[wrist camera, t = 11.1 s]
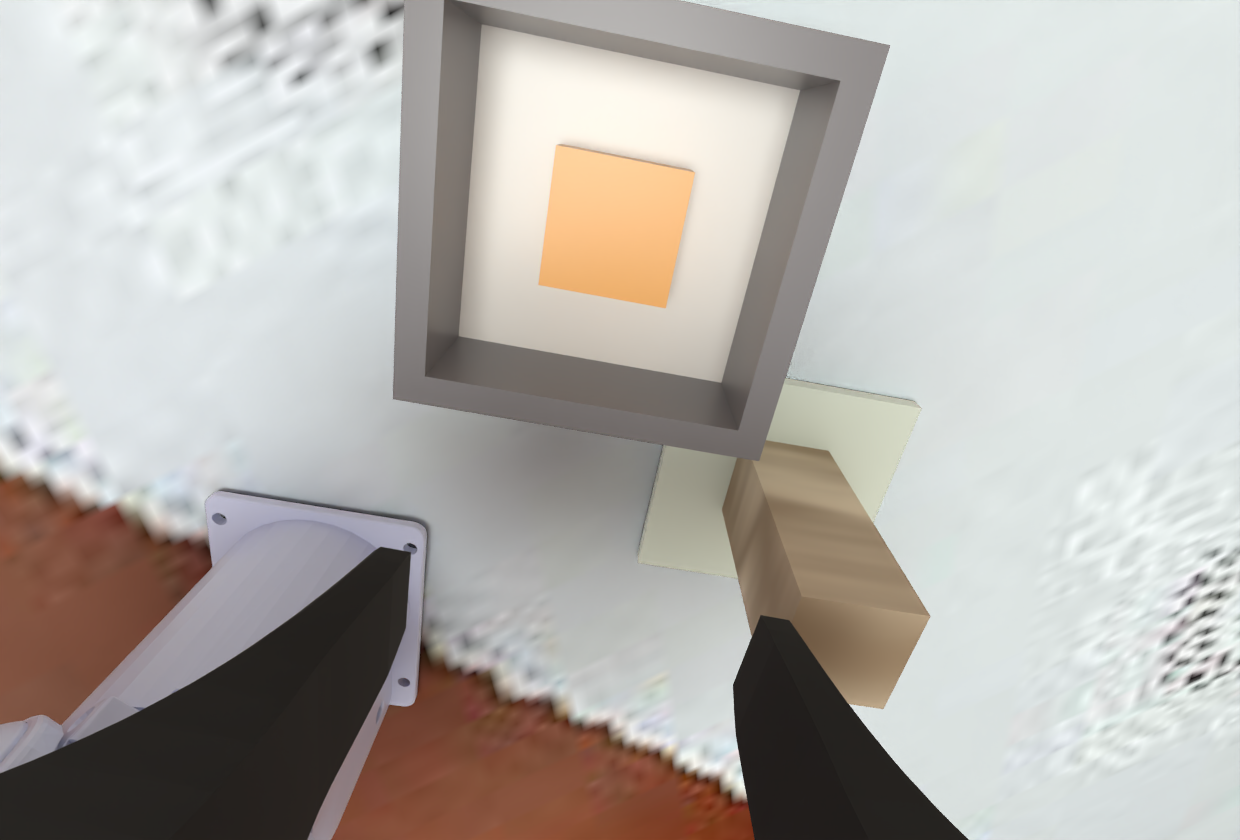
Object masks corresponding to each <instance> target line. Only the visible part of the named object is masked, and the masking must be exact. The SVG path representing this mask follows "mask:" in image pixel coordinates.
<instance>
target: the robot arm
mask: <svg viewBox="0 0 1240 840" xmlns="http://www.w3.org/2000/svg"><path fill="white" fill-rule="evenodd" d="M205 510H206V518H207V526H208V535H209V543H210V551H211V560H212V568H211V569H210V570H209V571H208V572H207V574H206V575H205V576H204V577H203V578H202V579H201V580H200V581H199V582H198V583H197V584H196V585H195V586H194V587H193V588H192V589H191V590H190V591H189V592H188V593H187V594H186V595H185V596H184V598H183V599H182V600H181V601H180V602H179V603H178V604H177V605H176V606H175V607H174V608H173V609H172V610H171V611H170V612H169V613H168V614H167V615H166V616H165V617H164V618H163V619H162V620H161V621H160V623H159V624H158V625H157V626H156V627H155V628H154V629H153V630H152V631H151V632H150V633H149V634H148V635H147V636H146V637H145V638H144V639H143V640H142V641H141V642H140V643H139V644H138V645H137V647H136V648H135V649H134V650H133V651H132V652H131V653H130V654H129V655H128V656H127V657H126V658H125V659H124V660H123V661H122V662H121V663H120V664H119V665H118V666H117V667H116V668H115V669H114V670H113V672H112V673H111V674H110V675H109V676H108V677H107V678H106V679H105V680H104V681H103V682H102V683H101V684H100V685H99V686H98V687H97V688H96V689H95V690H94V691H93V692H92V693H91V694H90V696H89V697H88V698H87V699H86V700H85V701H84V702H83V703H82V704H81V705H80V706H79V707H78V708H77V709H76V710H75V711H74V712H73V713H72V714H71V715H70V716H69V717H68V718H67V719H66V721H65V722H64V723H63V724H62V725H59V724H58V723H56V722H55V721H53V720H52V719H50V718H49V717H48V716H45V715H37V716H33V717H30V718H28V719H26V720H24V721H16V722H11V723H5V724H0V840H331V839H332V837H333V835H334V833H335V831H336V829H337V827H338V825H339V822H340V820H341V818H342V815H343V813H344V811H345V808H346V806H347V804H348V801H349V799H350V796H351V794H352V792H353V789H354V787H355V785H356V782H357V780H358V777H359V775H360V773H361V770H362V768H363V766H364V763H365V761H366V759H367V756H368V754H369V751H370V749H371V747H372V744H373V742H374V740H375V737H376V735H377V733H378V730H379V728H380V725H381V723H382V721H383V718H384V716H385V714H386V711H387V709H388V706H389V704H390V705H397V706H410V705H412V704H413V703H414V702H415V699H416V696H417V692H418V676H419V659H420V642H421V626H422V609H423V592H424V576H425V559H426V543H427V532H426V529H425V528H424V526H422V525H421V524H419V523H416V522H413V521H406V520H400V519H394V518H387V517H381V516H375V515H368V514H362V513H356V512H350V511H343V510H337V509H331V508H324V507H318V506H312V505H305V504H299V503H293V502H287V501H280V500H274V499H268V498H261V497H255V496H249V495H242V494H236V493H230V492H224V491H217V492H215V493H213V494H212V495H210V496H209V497H208V498H207V499H206V501H205ZM219 513H220V514H222V515H224V516H225V517H226V519H225V518H222V517H221V516H220V515H219ZM407 543H411V544H414V545H415V546H416V547H417V548H411V547H409V546H408V545H407ZM404 678H406V679H404ZM733 694H734V714H735V728H736V738H737V744H738V750H739V756H740V761H741V767H742V773H743V778H744V784H745V789H746V794H747V800H748V805H749V811H750V816H751V822H752V827H753V832H754V838H755V840H968V839H967V838H966V837H965V836H964V835H963V834H962V833H961V832H960V831H959V830H958V829H957V828H956V827H955V826H954V825H953V824H952V823H951V822H950V821H949V820H948V819H947V818H946V817H945V816H944V815H943V814H942V813H941V812H940V811H939V810H938V809H937V808H936V807H935V806H934V805H933V804H932V803H931V801H930V800H929V799H928V798H927V797H926V796H925V795H924V794H923V793H922V792H921V791H920V790H919V788H918V787H917V786H916V785H915V784H914V783H913V782H912V781H911V780H910V779H909V778H908V776H907V775H906V774H905V773H904V772H903V771H902V770H901V769H900V767H899V766H898V765H897V764H896V763H895V762H894V760H893V759H892V758H891V757H890V756H889V755H888V753H887V752H886V751H885V750H884V748H883V747H882V746H881V745H880V743H879V742H878V741H877V740H876V739H875V737H874V736H873V735H872V734H871V732H870V731H869V730H868V729H867V727H866V726H865V725H864V724H863V722H862V721H861V720H860V718H859V717H858V716H857V714H856V713H855V712H854V711H853V709H852V708H851V707H850V705H849V704H848V703H847V701H846V700H845V698H844V697H843V696H842V694H841V693H840V692H839V690H838V689H837V687H836V686H835V685H834V683H833V682H832V680H831V679H830V678H829V676H828V675H827V673H826V672H825V671H824V669H823V668H822V666H821V665H820V663H819V662H818V661H817V659H816V658H815V656H814V655H813V653H812V652H811V650H810V649H809V648H808V646H807V645H806V643H805V642H804V640H803V639H802V637H801V636H800V634H799V633H798V632H797V630H796V629H795V627H794V626H793V625H792V623H791V622H790V620H786V619H780V618H775V617H769V616H764V615H760V618H759V620H758V623H757V625H756V628H755V631H754V633H753V636H752V638H751V641H750V643H749V646H748V648H747V651H746V653H745V656H744V659H743V661H742V664H741V666H740V669H739V671H738V674H737V676H736V679H735V681H734V684H733Z"/></svg>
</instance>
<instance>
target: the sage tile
mask: <svg viewBox="0 0 1240 840" xmlns="http://www.w3.org/2000/svg"><path fill="white" fill-rule="evenodd" d="M921 409H922V408H921V407H920V406H919V405H918V404H917V403H916V402H915V401H911V400H905V399H900V398H894V397H888V396H883V395H877V394H872V393H866V392H860V391H855V390H849V389H844V388H838V387H832V386H827V385H821V384H816V383H810V382H805V381H799V380H793V379H788V378H785V381H784V384H783V387H782V390H781V394H780V397H779V400H778V403H777V406H776V409H775V413H774V416H773V419H772V422H771V425H770V429H769V432H768V435H767V438H766V440H768V441H774V442H780V443H786V444H792V445H798V446H803V447H809V448H815V449H821V450H827V451H829V452H830V454H831V455H832V457H833V459H834V460H835V462H836V463H837V465H838V467H839V468H840V470H841V472H842V473H843V475H844V476H845V478H846V480H847V481H848V483H849V485H850V486H851V488H852V490H853V491H854V493H855V494H856V496H857V498H858V499H859V501H860V503H861V504H862V506H863V507H864V509H865V511H866V512H867V514H868V516H869V517H870V519H871V520H872V522H874V520H875V517H876V515H877V512H878V510H879V508H880V505H881V503H882V501H883V498H884V496H885V494H886V491H887V489H888V487H889V484H890V482H891V480H892V477H893V475H894V472H895V470H896V468H897V465H898V463H899V461H900V458H901V456H902V454H903V451H904V449H905V447H906V444H907V442H908V439H909V437H910V435H911V432H912V430H913V428H914V425H915V423H916V421H917V418H918V416H919V414H920V411H921ZM736 460H737V457H731V456H725V455H719V454H713V453H707V452H701V451H695V450H690V449H684V448H678V447H672V446H666V445H663V449H662V453H661V457H660V462H659V466H658V470H657V474H656V478H655V483H654V487H653V491H652V495H651V499H650V504H649V508H648V512H647V516H646V520H645V525H644V529H643V533H642V537H641V541H640V546H639V550H638V563H641V564H647V565H653V566H660V567H666V568H672V569H679V570H685V571H691V572H698V573H704V574H710V575H717V576H723V577H729V578H736V579H738V576H737V572H736V568H735V563H734V559H733V555H732V551H731V547H730V542H729V538H728V534H727V530H726V525H725V521H724V517H723V513H722V507H723V504H724V501H725V497H726V494H727V490H728V487H729V484H730V480H731V477H732V473H733V470H734V467H735V463H736Z"/></svg>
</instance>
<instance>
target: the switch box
mask: <svg viewBox="0 0 1240 840" xmlns="http://www.w3.org/2000/svg"><path fill="white" fill-rule="evenodd" d="M889 48H890V45H886V44H881V43H877V42H872V41H867V40H863V39H858V38H853V37H849V36H844V35H839V34H835V33H830V32H825V31H821V30H816V29H811V28H807V27H802V26H797V25H793V24H788V23H783V22H779V21H774V20H769V19H765V18H760V17H755V16H751V15H746V14H741V13H737V12H732V11H727V10H723V9H718V8H713V7H709V6H704V5H699V4H695V3H690V2H685V1H681V0H404V34H403V69H402V104H401V138H400V173H399V208H398V242H397V277H396V312H395V346H394V381H393V399H396V400H402V401H408V402H413V403H419V404H425V405H431V406H437V407H443V408H449V409H455V410H460V411H466V412H472V413H478V414H484V415H490V416H496V417H502V418H507V419H513V420H519V421H525V422H531V423H537V424H543V425H549V426H554V427H560V428H566V429H572V430H578V431H584V432H590V433H596V434H601V435H607V436H613V437H619V438H625V439H631V440H637V441H643V442H648V443H654V444H660V445H666V446H672V447H678V448H684V449H690V450H695V451H701V452H707V453H713V454H719V455H725V456H731V457H737V458H743V459H748V460H754V461H759V460H760V457H761V454H762V451H763V448H764V444H765V441H766V438H767V435H768V432H769V429H770V425H771V422H772V419H773V416H774V413H775V409H776V406H777V403H778V400H779V397H780V394H781V390H782V387H783V384H784V381H785V378H786V375H787V371H788V368H789V365H790V362H791V359H792V356H793V352H794V349H795V346H796V343H797V340H798V337H799V333H800V330H801V327H802V324H803V321H804V318H805V314H806V311H807V308H808V305H809V302H810V298H811V295H812V292H813V289H814V286H815V283H816V279H817V276H818V273H819V270H820V267H821V264H822V260H823V257H824V254H825V251H826V248H827V245H828V241H829V238H830V235H831V232H832V229H833V226H834V222H835V219H836V216H837V213H838V210H839V206H840V203H841V200H842V197H843V194H844V191H845V187H846V184H847V181H848V178H849V175H850V172H851V168H852V165H853V162H854V159H855V156H856V153H857V149H858V146H859V143H860V140H861V137H862V134H863V130H864V127H865V124H866V121H867V118H868V115H869V111H870V108H871V105H872V102H873V99H874V95H875V92H876V89H877V86H878V83H879V80H880V76H881V73H882V70H883V67H884V64H885V61H886V57H887V54H888V51H889ZM558 144H565V145H570V146H575V147H580V148H585V149H590V150H595V151H600V152H605V153H610V154H615V155H620V156H625V157H630V158H635V159H641V160H646V161H651V162H656V163H661V164H666V165H671V166H676V167H681V168H686V169H691V170H692V171H694V172H695V176H694V180H693V185H692V189H691V194H690V199H689V203H688V208H687V212H686V217H685V222H684V226H683V231H682V236H681V240H680V245H679V249H678V254H677V259H676V263H675V268H674V272H673V277H672V282H671V286H670V291H669V296H668V300H667V305H666V308H661V307H656V306H650V305H645V304H639V303H634V302H628V301H623V300H618V299H612V298H607V297H601V296H596V295H590V294H585V293H579V292H574V291H569V290H563V289H558V288H552V287H547V286H541V285H538V283H539V275H540V267H541V259H542V251H543V244H544V236H545V228H546V220H547V212H548V204H549V196H550V188H551V180H552V172H553V164H554V156H555V148H556V145H558Z"/></svg>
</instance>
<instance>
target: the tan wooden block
mask: <svg viewBox="0 0 1240 840" xmlns="http://www.w3.org/2000/svg"><path fill="white" fill-rule="evenodd" d="M722 513H723V517H724V521H725V525H726V530H727V534H728V538H729V542H730V547H731V551H732V555H733V559H734V563H735V568H736V572H737V576H738V580H739V585H740V589H741V593H742V597H743V601H744V606H745V610H746V614H747V618H748V623H749V627H750V631H751V635H752V636H753V633H754V631H755V628H756V625H757V623H758V620H759V618H760V615H764V616H769V617H775V618H780V619H786V620H790V622H791V623H792V625H793V626H794V627H795V629H796V630H797V632H798V633H799V634H800V636H801V637H802V639H803V640H804V642H805V643H806V645H807V646H808V648H809V649H810V650H811V652H812V653H813V655H814V656H815V658H816V659H817V661H818V662H819V663H820V665H821V666H822V668H823V669H824V671H825V672H826V673H827V675H828V676H829V678H830V679H831V680H832V682H833V683H834V685H835V686H836V687H837V689H838V690H839V692H840V693H841V694H842V696H843V697H844V698H845V700H846V701H847V703H848V704H852V705H859V706H866V707H873V708H880V709H884V707H885V705H886V703H887V701H888V699H889V697H890V695H891V693H892V691H893V689H894V687H895V685H896V683H897V681H898V679H899V677H900V675H901V673H902V671H903V669H904V667H905V665H906V663H907V661H908V659H909V657H910V655H911V653H912V651H913V650H914V648H915V646H916V644H917V642H918V640H919V638H920V636H921V634H922V632H923V630H924V628H925V626H926V624H927V622H928V620H929V618H930V615H929V613H928V612H927V610H926V608H925V607H924V605H923V604H922V602H921V600H920V599H919V597H918V595H917V594H916V592H915V591H914V589H913V587H912V586H911V584H910V582H909V581H908V579H907V578H906V576H905V574H904V573H903V571H902V569H901V568H900V566H899V564H898V563H897V561H896V560H895V558H894V556H893V555H892V553H891V551H890V550H889V548H888V547H887V545H886V543H885V542H884V540H883V538H882V537H881V535H880V534H879V532H878V530H877V529H876V527H875V525H874V524H873V522H872V520H871V519H870V517H869V516H868V514H867V512H866V511H865V509H864V507H863V506H862V504H861V503H860V501H859V499H858V498H857V496H856V494H855V493H854V491H853V490H852V488H851V486H850V485H849V483H848V481H847V480H846V478H845V476H844V475H843V473H842V472H841V470H840V468H839V467H838V465H837V463H836V462H835V460H834V459H833V457H832V455H831V454H830V452H829V451H827V450H821V449H815V448H809V447H803V446H798V445H792V444H786V443H780V442H774V441H768V440H766V441H765V444H764V448H763V451H762V454H761V457H760V460H759V461H754V460H748V459H743V458H737V460H736V463H735V467H734V470H733V473H732V477H731V480H730V484H729V487H728V490H727V494H726V497H725V501H724V504H723V507H722Z"/></svg>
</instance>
